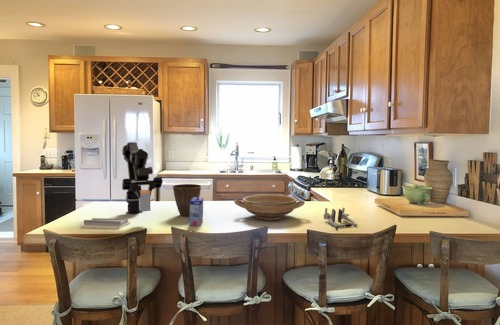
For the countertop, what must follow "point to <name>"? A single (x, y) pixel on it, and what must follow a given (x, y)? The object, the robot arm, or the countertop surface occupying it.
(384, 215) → the countertop surface
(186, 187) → the plant pot
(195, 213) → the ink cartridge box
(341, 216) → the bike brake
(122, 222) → the rail plate
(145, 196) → the block
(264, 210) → the ceramic bowl
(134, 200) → the robot arm
